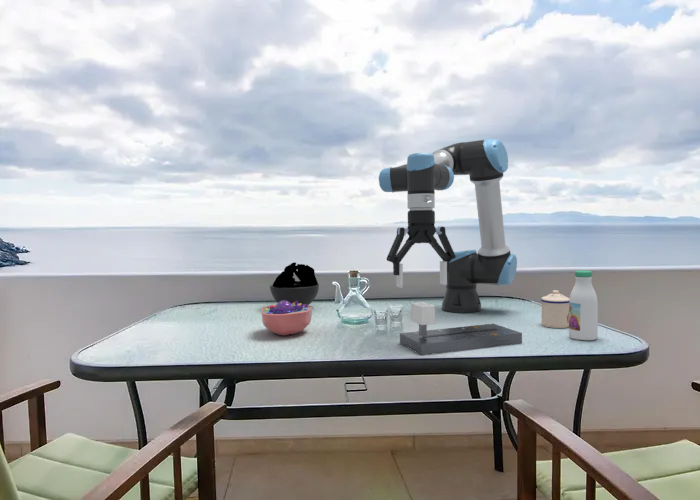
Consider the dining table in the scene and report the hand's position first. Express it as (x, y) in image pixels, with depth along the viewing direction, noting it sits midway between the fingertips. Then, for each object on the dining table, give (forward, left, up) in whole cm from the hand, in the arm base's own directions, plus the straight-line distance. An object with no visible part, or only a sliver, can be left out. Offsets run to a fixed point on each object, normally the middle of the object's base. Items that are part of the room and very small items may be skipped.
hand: (421, 285), depth 142 cm
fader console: (0, +12, -18) cm, 21 cm away
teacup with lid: (-9, +53, -18) cm, 57 cm away
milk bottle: (+9, +48, -18) cm, 52 cm away
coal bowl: (-76, -20, -18) cm, 81 cm away
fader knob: (0, 0, -14) cm, 14 cm away
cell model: (-34, -32, -18) cm, 50 cm away
